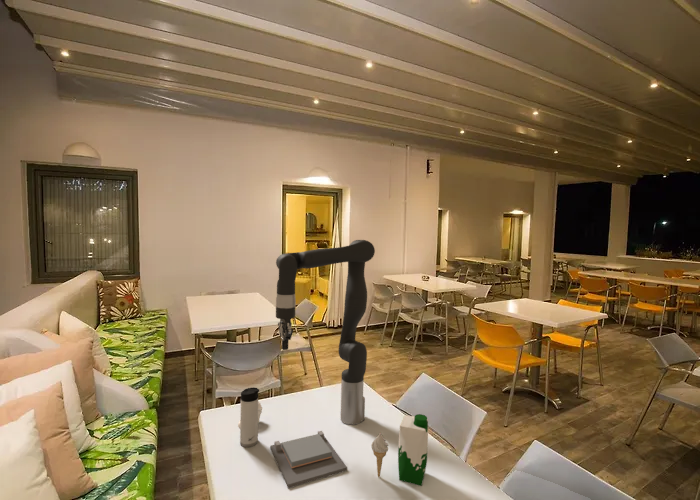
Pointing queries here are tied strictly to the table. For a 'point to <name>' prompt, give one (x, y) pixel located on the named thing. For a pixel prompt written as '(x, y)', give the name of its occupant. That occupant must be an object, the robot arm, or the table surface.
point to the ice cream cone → (379, 450)
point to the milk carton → (413, 448)
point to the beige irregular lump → (258, 413)
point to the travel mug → (249, 417)
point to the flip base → (307, 466)
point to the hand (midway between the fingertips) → (284, 349)
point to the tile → (306, 450)
